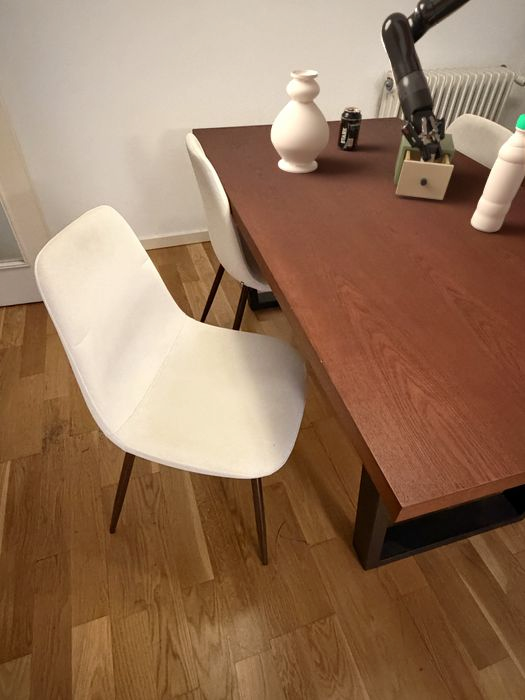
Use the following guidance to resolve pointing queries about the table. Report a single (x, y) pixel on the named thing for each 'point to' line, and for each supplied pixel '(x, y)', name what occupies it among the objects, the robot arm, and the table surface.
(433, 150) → the small capped bottle
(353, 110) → the beverage can
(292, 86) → the decorative vase
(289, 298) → the table surface
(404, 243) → the table surface
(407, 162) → the drawer
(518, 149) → the water bottle
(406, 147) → the cabinet
